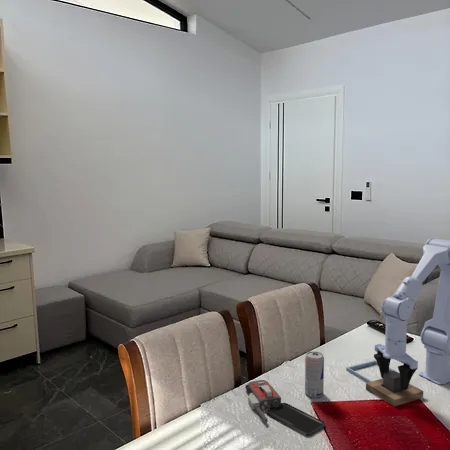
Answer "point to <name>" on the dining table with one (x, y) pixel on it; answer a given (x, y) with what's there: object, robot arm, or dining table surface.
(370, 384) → the socket block
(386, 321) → the robot arm
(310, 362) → the energy drink
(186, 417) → the dining table surface
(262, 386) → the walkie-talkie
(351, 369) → the frame
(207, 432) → the dining table surface
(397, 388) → the plug
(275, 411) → the phone
